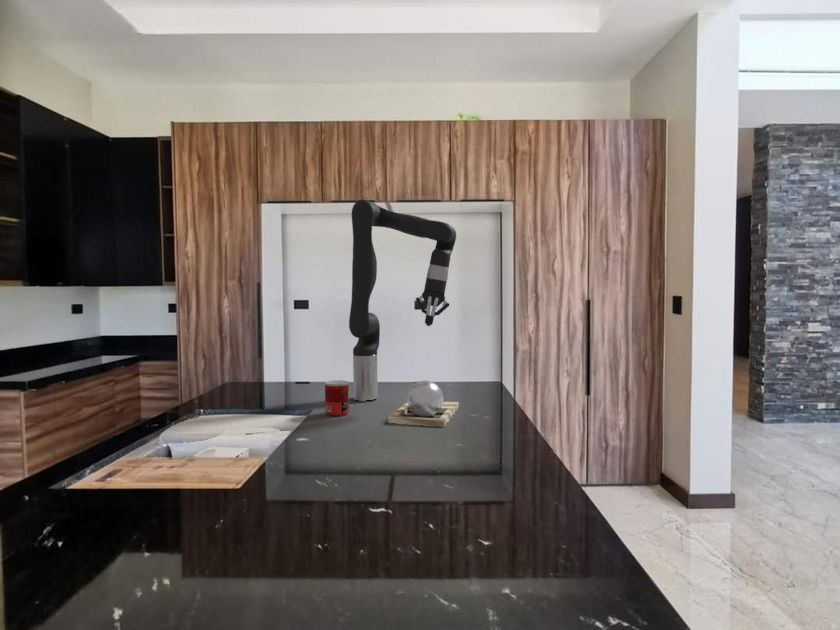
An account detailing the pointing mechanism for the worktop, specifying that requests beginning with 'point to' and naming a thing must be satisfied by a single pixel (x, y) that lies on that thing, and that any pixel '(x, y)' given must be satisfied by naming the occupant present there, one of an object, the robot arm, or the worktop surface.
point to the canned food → (336, 398)
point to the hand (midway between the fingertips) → (428, 325)
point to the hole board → (446, 409)
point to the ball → (425, 398)
